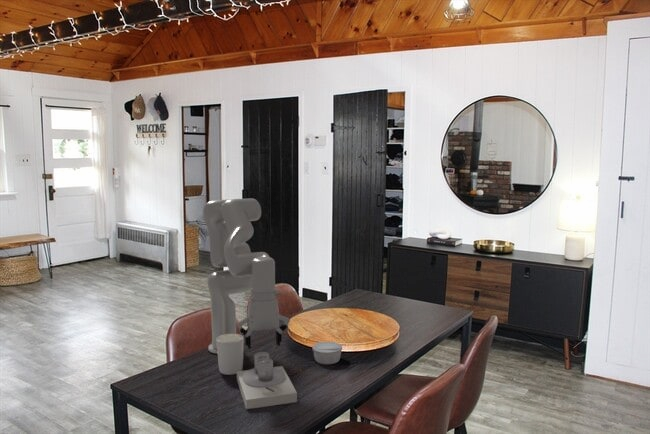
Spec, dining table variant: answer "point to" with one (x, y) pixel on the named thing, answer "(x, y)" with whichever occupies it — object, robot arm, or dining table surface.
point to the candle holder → (230, 353)
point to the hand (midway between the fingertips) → (263, 345)
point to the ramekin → (327, 352)
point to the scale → (266, 389)
